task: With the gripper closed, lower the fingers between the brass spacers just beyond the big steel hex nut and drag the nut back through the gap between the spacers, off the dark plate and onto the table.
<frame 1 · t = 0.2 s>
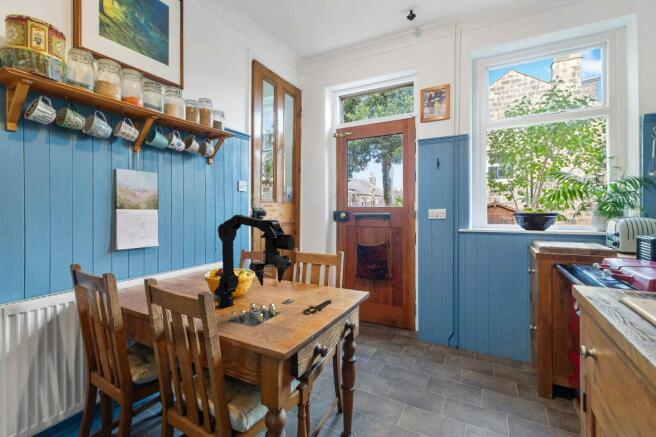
hand: (270, 283, 134), 14 cm above the table, tool pointing down, fingers open, 9 cm apart
pliers: (279, 306, 147), on the table
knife: (318, 308, 144), on the table
spacer plate: (254, 317, 130), on the table
nut: (255, 316, 130), point 1 cm above the table, touching spacer plate
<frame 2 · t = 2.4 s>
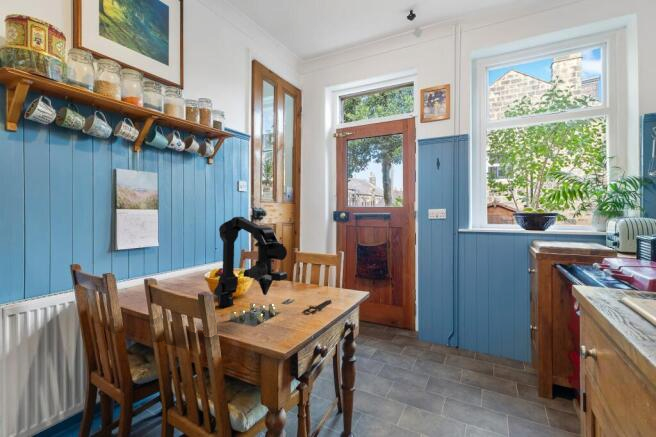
hand: (265, 294, 127), 11 cm above the table, tool pointing down, fingers closed
nothing on the table moved.
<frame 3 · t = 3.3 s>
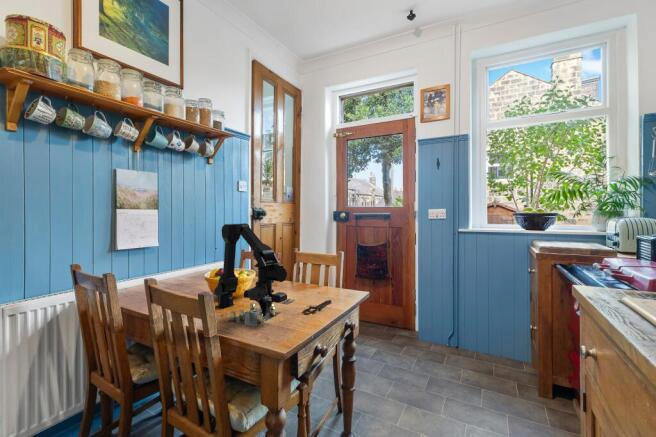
hand: (265, 315, 128), 2 cm above the table, tool pointing down, fingers closed
nothing on the table moved.
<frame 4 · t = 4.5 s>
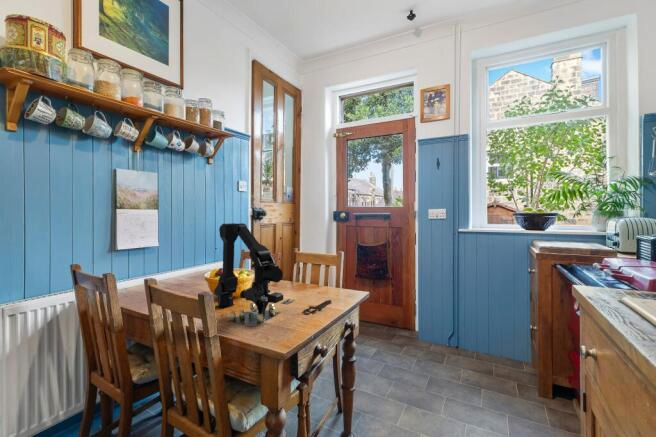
hand: (261, 315, 128), 1 cm above the table, tool pointing down, fingers closed
nut: (254, 316, 130), point 1 cm above the table, touching gripper, spacer plate
everything else where it was.
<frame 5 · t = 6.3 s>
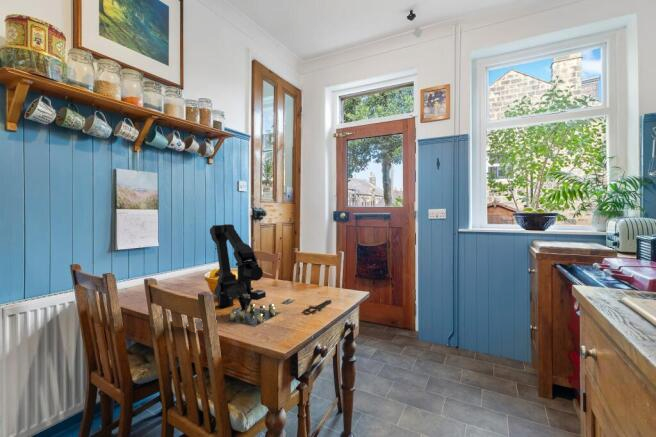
hand: (244, 312, 132), 1 cm above the table, tool pointing down, fingers closed
nut: (238, 314, 134), on the table, tilted 7°, touching gripper, spacer plate
everything else where it was.
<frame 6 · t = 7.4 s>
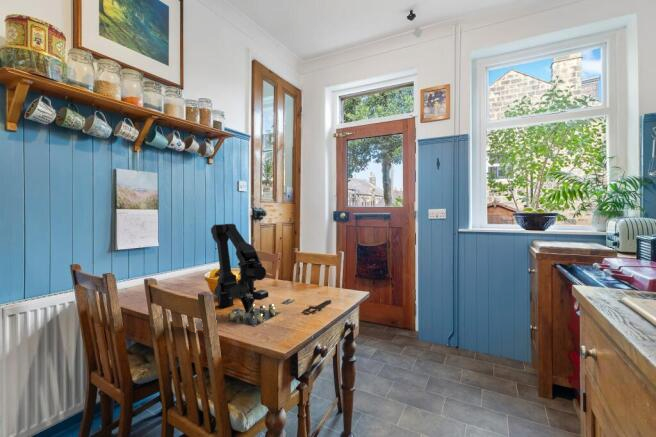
hand: (247, 312, 132), 2 cm above the table, tool pointing down, fingers closed
nut: (237, 315, 134), on the table
everything else where it was.
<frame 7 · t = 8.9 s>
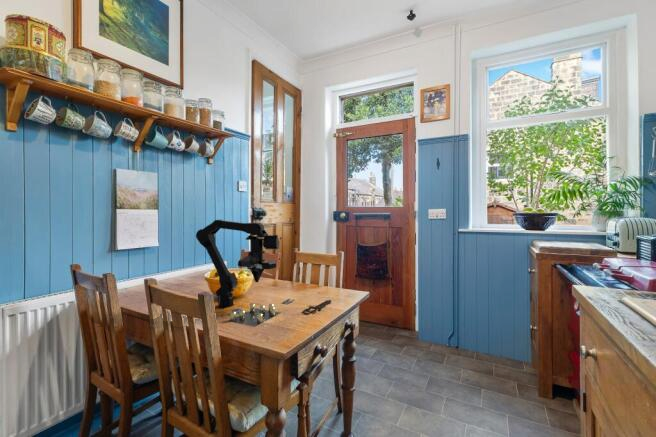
hand: (256, 282, 144), 12 cm above the table, tool pointing down, fingers closed
nothing on the table moved.
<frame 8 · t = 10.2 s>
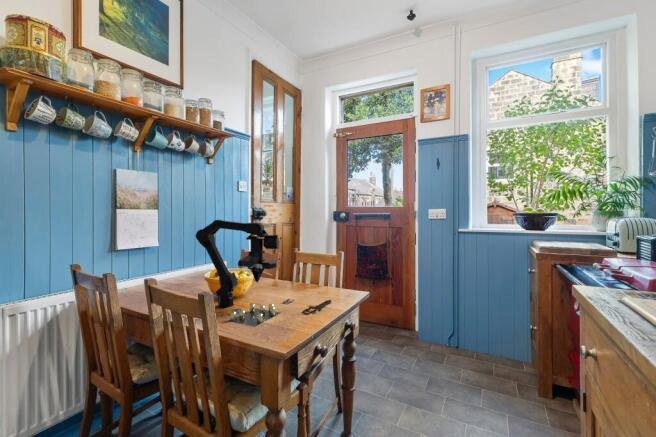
hand: (256, 281, 144), 12 cm above the table, tool pointing down, fingers closed
nothing on the table moved.
at the end: nut inside the target area (2.7 cm from its centre), on the table; nut touching table; nut moved 9.8 cm from its start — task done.
